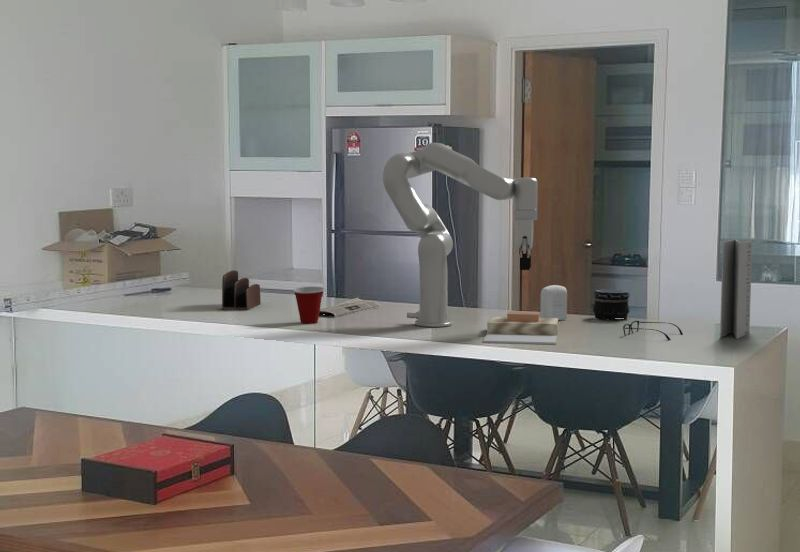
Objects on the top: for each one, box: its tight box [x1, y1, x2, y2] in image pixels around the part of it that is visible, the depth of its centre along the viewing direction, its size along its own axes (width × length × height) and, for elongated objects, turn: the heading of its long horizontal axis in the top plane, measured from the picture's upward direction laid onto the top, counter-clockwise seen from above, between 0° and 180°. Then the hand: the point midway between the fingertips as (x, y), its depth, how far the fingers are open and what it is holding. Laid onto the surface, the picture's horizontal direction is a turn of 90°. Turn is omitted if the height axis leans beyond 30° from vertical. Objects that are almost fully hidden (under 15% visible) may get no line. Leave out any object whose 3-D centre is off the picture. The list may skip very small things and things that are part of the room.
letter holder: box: [221, 270, 262, 312], centre depth 411 cm, size 10×20×14 cm, turn 173°
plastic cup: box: [292, 286, 325, 325], centre depth 368 cm, size 11×11×12 cm
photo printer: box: [539, 284, 568, 321], centre depth 374 cm, size 10×4×12 cm, turn 123°
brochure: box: [719, 239, 753, 340], centre depth 339 cm, size 14×6×30 cm, turn 148°
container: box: [592, 289, 631, 321], centre depth 379 cm, size 13×13×10 cm
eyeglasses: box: [622, 320, 684, 341], centre depth 340 cm, size 16×16×4 cm
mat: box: [482, 333, 558, 346], centre depth 331 cm, size 22×14×1 cm, turn 81°
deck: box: [486, 316, 559, 337], centre depth 346 cm, size 22×14×4 cm, turn 81°
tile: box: [506, 310, 540, 322], centre depth 346 cm, size 10×7×2 cm
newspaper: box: [319, 296, 381, 318], centre depth 400 cm, size 35×12×4 cm, turn 153°
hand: (525, 268), depth 354 cm, fingers open, 7 cm apart
